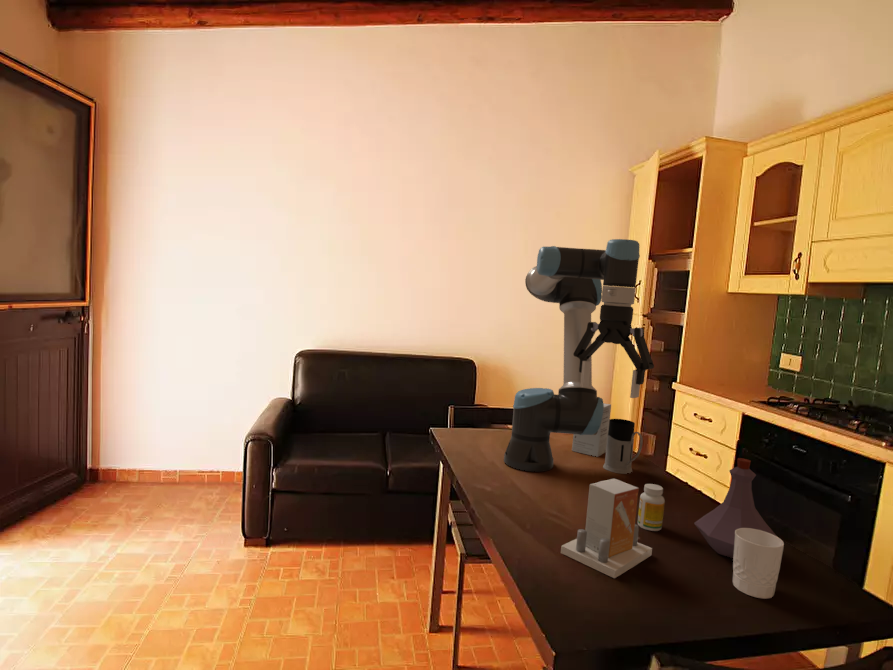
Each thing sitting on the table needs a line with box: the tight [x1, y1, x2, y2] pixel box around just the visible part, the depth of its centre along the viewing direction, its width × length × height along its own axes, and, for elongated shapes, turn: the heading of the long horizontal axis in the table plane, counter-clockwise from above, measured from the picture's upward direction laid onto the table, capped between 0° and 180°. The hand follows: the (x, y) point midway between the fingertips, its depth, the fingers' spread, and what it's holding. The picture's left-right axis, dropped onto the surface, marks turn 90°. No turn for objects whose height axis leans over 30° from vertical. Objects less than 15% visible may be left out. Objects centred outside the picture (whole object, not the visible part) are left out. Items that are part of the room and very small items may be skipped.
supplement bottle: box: [637, 483, 666, 532], centre depth 124 cm, size 5×5×10 cm
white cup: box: [732, 528, 785, 600], centre depth 99 cm, size 8×8×10 cm
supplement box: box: [571, 402, 612, 458], centre depth 183 cm, size 10×9×17 cm
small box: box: [584, 478, 640, 558], centre depth 109 cm, size 8×6×13 cm
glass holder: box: [602, 418, 644, 475], centre depth 163 cm, size 9×14×15 cm, turn 18°
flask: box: [694, 457, 777, 559], centre depth 114 cm, size 16×16×20 cm
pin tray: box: [560, 523, 653, 579], centre depth 109 cm, size 12×15×6 cm
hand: (608, 391), depth 131 cm, fingers open, 13 cm apart
